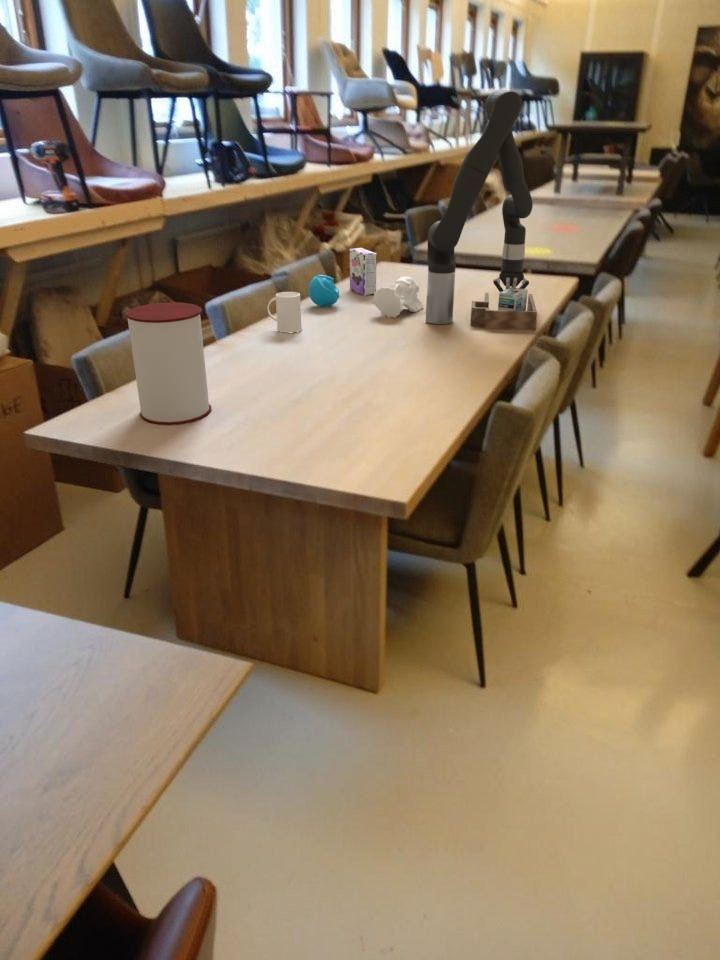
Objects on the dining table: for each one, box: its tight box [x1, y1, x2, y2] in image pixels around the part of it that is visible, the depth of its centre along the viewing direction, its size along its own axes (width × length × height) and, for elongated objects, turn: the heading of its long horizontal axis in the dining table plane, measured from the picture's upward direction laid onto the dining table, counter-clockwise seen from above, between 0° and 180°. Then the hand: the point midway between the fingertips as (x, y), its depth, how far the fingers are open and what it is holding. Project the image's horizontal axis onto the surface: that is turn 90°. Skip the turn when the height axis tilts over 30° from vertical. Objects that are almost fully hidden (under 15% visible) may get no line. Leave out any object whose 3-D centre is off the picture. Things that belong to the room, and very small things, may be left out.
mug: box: [267, 291, 303, 333], centre depth 249 cm, size 12×8×12 cm
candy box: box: [349, 247, 378, 297], centre depth 299 cm, size 14×6×16 cm, turn 25°
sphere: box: [308, 274, 340, 308], centre depth 278 cm, size 12×11×12 cm
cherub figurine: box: [371, 276, 424, 319], centre depth 272 cm, size 13×12×20 cm
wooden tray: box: [470, 292, 538, 331], centre depth 263 cm, size 22×27×6 cm
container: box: [125, 301, 212, 426], centre depth 178 cm, size 17×17×25 cm
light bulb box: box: [497, 287, 529, 311], centre depth 258 cm, size 11×7×11 cm, turn 148°
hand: (509, 306), depth 265 cm, fingers closed
